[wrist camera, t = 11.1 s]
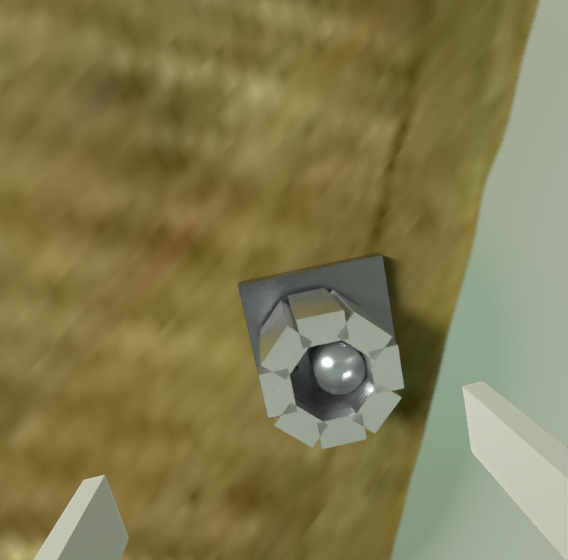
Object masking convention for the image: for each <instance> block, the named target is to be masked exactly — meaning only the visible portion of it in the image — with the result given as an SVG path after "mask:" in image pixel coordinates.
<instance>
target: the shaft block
mask: <svg viewBox="0 0 568 560" xmlns="http://www.w3.org/2000/svg"><path fill="white" fill-rule="evenodd" d="M238 288H239V292H240V296H241V301H242V305H243V309H244V314H245V318H246V323H247V327H248V331H249V336H250V340H251V344H252V349H253V353H254V358H255V362H256V366H257V371H258V375H259V338H260V330H261V329H262V327H263V326H264V324H265V323H266V321H267V320H268V318H269V317H270V315H271V314H272V312H273V311H274V309H275V308H276V306H277V305H278V303H279V302H280V300H281V301H283V302H285V303H286V304H288V305H289V306H290V304H289V299H288V295H292V294H297V293H302V292H306V291H311V290H316V289H321V288H325V289H326V290H327V291H328V292H329V293H330V292H331V291H332V289H333V290H335V291H336V292H338V293H339V294H341V295H342V296H344V297H345V298H347V299H348V300H350V301H351V302H353V303H354V304H356V305H357V306H359V307H360V308H362V309H363V310H364V311H365V312H366V313H368V314H369V315H370V316H371V317H372V318H373V319H374V320H375V321H376V322H377V323H378V324H379V325H380V326H382V327H383V328H384V329H385V330H386V331H387V332H388V333H389V334H390V335H391V336H392V338H391V339H392V340H393V341H394V342H395V343H396V340H395V334H394V327H393V321H392V314H391V308H390V301H389V295H388V288H387V282H386V275H385V268H384V262H383V255H380V254H378V253H376V254H371V255H366V256H361V257H357V258H352V259H347V260H342V261H338V262H333V263H328V264H323V265H319V266H314V267H309V268H304V269H299V270H295V271H290V272H285V273H280V274H276V275H271V276H266V277H261V278H257V279H252V280H247V281H242V282H239V284H238ZM295 368H297V369H298V370H300V371H302V372H303V373H305V374H307V375H308V376H312V375H315V377H316V380H317V382H318V384H319V385H320V387H321V388H322V389H323V390H325V391H326V392H328V393H331V394H335V395H342V394H347V393H349V392H351V391H353V390H355V389H356V388H357V387H358V386H359V385H360V384H361V382H362V380H363V378H364V375H365V365H364V361H363V359H362V358H361V356H360V355H359V353H358V352H357V350H356V349H355V348H354V347H352V346H351V345H349V344H348V343H346V342H345V341H343V340H340V341H336V342H331V343H326V344H322V345H317V346H312V347H309V348H308V349H307V351H306V352H305V353H304V355H303V356H302V358H301V359H300V361H299V362H298V363H297V365H296V366H295ZM260 384H261V383H260ZM398 390H401V389H398ZM262 393H263V392H262ZM263 397H264V396H263ZM265 406H266V405H265ZM270 418H274V417H270ZM270 418H268V419H270Z"/></svg>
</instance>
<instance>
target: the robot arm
mask: <svg viewBox="0 0 568 560" xmlns="http://www.w3.org/2000/svg"><path fill="white" fill-rule="evenodd" d="M462 388H463V396H464V403H465V409H466V417H467V424H468V431H469V439H470V446H471V452H472V453H473V454H474V455H475V456H476V457H477V459H479V461H480V462H481V463H482V464H483V466H484V467H485V468H486V469H487V470H488V471H489V472H490V473H491V474H492V476H493V477H494V478H495V479H496V480H497V482H498V483H499V484H500V485H501V486H502V487H503V488H504V490H505V491H506V492H507V493H508V494H509V495H510V497H511V498H512V499H513V500H514V501H515V502H516V503H517V504H518V505H519V507H520V508H521V509H522V510H523V511H524V513H525V514H526V515H527V516H528V517H529V518H530V520H531V521H532V522H533V523H534V524H535V525H536V526H537V528H538V529H539V530H540V531H541V532H542V533H543V534H544V536H545V537H546V538H547V539H548V540H549V541H550V542H551V544H552V545H553V546H554V547H555V548H556V549H557V551H558V552H559V553H560V554H561V555H562V556H563V557H564V558H565V560H568V447H566V446H565V445H564V444H563V443H561V442H560V441H559V440H558V439H556V438H555V437H553V436H552V435H551V434H550V433H548V432H547V431H546V430H545V429H544V428H542V427H541V426H540V425H538V424H537V423H536V422H535V421H533V420H532V419H531V418H529V417H528V416H527V415H525V414H524V413H523V412H522V411H520V410H519V409H518V408H517V407H515V406H514V405H513V404H511V403H510V402H509V401H508V400H506V399H505V398H504V397H502V396H501V395H500V394H499V393H497V392H496V391H495V390H494V389H492V388H491V387H490V386H488V385H487V384H486V383H485V382H483V381H480V382H476V383H472V384H468V385H464V386H462ZM128 539H129V537H128V534H127V532H126V529H125V527H124V524H123V521H122V519H121V516H120V513H119V511H118V508H117V505H116V503H115V500H114V497H113V495H112V492H111V489H110V487H109V484H108V481H107V479H106V476H105V475H101V476H97V477H93V478H89V479H85V480H83V482H82V483H81V485H80V486H79V488H78V490H77V491H76V493H75V494H74V496H73V498H72V499H71V501H70V502H69V504H68V506H67V507H66V509H65V510H64V512H63V514H62V515H61V517H60V518H59V520H58V522H57V523H56V525H55V526H54V528H53V530H52V531H51V533H50V534H49V536H48V537H47V539H46V541H45V542H44V544H43V545H42V547H41V549H40V550H39V552H38V553H37V555H36V557H35V558H34V560H121V557H122V555H123V552H124V550H125V547H126V544H127V542H128Z"/></svg>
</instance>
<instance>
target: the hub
mask: <svg viewBox="0 0 568 560" xmlns="http://www.w3.org/2000/svg"><path fill="white" fill-rule="evenodd" d="M288 299H289V304H290V306H289V305H288V304H286V303H285V302H283V301H281V300H280V302H279V303H278V305H277V306H276V308H275V309H274V311H273V312H272V314H271V315H270V317H269V318H268V320H267V321H266V323H265V324H264V326H263V327H262V329H261V330H260V338H259V379H260V383H261V388H262V392H263V396H264V401H265V405H266V410H267V414H268V418H270V417H274V426H276V427H277V428H279V429H281V430H283V431H284V432H286V433H288V434H290V435H291V436H293V437H295V438H297V439H298V440H300V441H302V442H304V443H305V444H307V445H309V446H310V447H313V446H314V444H315V443H316V442H317V440H318V439H320V443H321V446H322V449H324V448H329V447H333V446H338V445H342V444H347V443H351V442H356V441H360V440H365V439H366V433H365V428H367V429H368V430H370V431H372V432H373V433H376V432H377V430H378V429H379V428H380V426H381V425H382V424H383V422H384V421H385V420H386V418H387V417H388V416H389V414H390V413H391V412H392V410H393V409H394V407H395V406H396V405H397V403H398V402H399V401H400V399H401V398H402V397H401V396H400V395H399V393H398V392H397V391H396V390H398V389H403V388H404V383H403V376H402V369H401V362H400V356H399V349H398V345H397V344H396V343H395V342H394V341H393V340H392V339H391V338H392V336H391V335H390V334H389V333H388V332H387V331H386V330H385V329H384V328H383V327H382V326H380V325H379V324H378V323H377V322H376V321H375V320H374V319H373V318H372V317H371V316H370V315H369V314H368V313H366V312H365V311H364V310H363V309H362V308H360V307H359V306H357V305H356V304H354V303H353V302H351V301H350V300H348V299H347V298H345V297H344V296H342V295H341V294H339V293H338V292H336V291H335V290H333V289H332V291H331V292H330V293H329V292H328V291H327V290H326V289H325V288H321V289H316V290H311V291H306V292H302V293H297V294H292V295H288ZM340 340H343V341H345V342H346V343H348V344H349V345H351V346H352V347H354V348H355V349H356V350H357V352H358V353H359V355H360V356H361V358H362V359H363V361H364V365H365V375H364V378H363V380H362V382H361V384H360V385H359V386H358V387H357V388H356V389H355V390H353V391H351V392H349V393H347V394H342V395H335V394H331V393H328V392H326V391H325V390H323V389H322V388H321V387H320V385H319V384H318V382H317V380H316V377H315V375H312V376H308V375H307V374H305V373H303V372H302V371H300V370H298V369H297V368H295V366H296V365H297V363H298V362H299V361H300V359H301V358H302V356H303V355H304V353H305V352H306V351H307V349H308V348H309V347H312V346H317V345H322V344H326V343H331V342H336V341H340ZM364 427H365V428H364Z"/></svg>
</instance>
